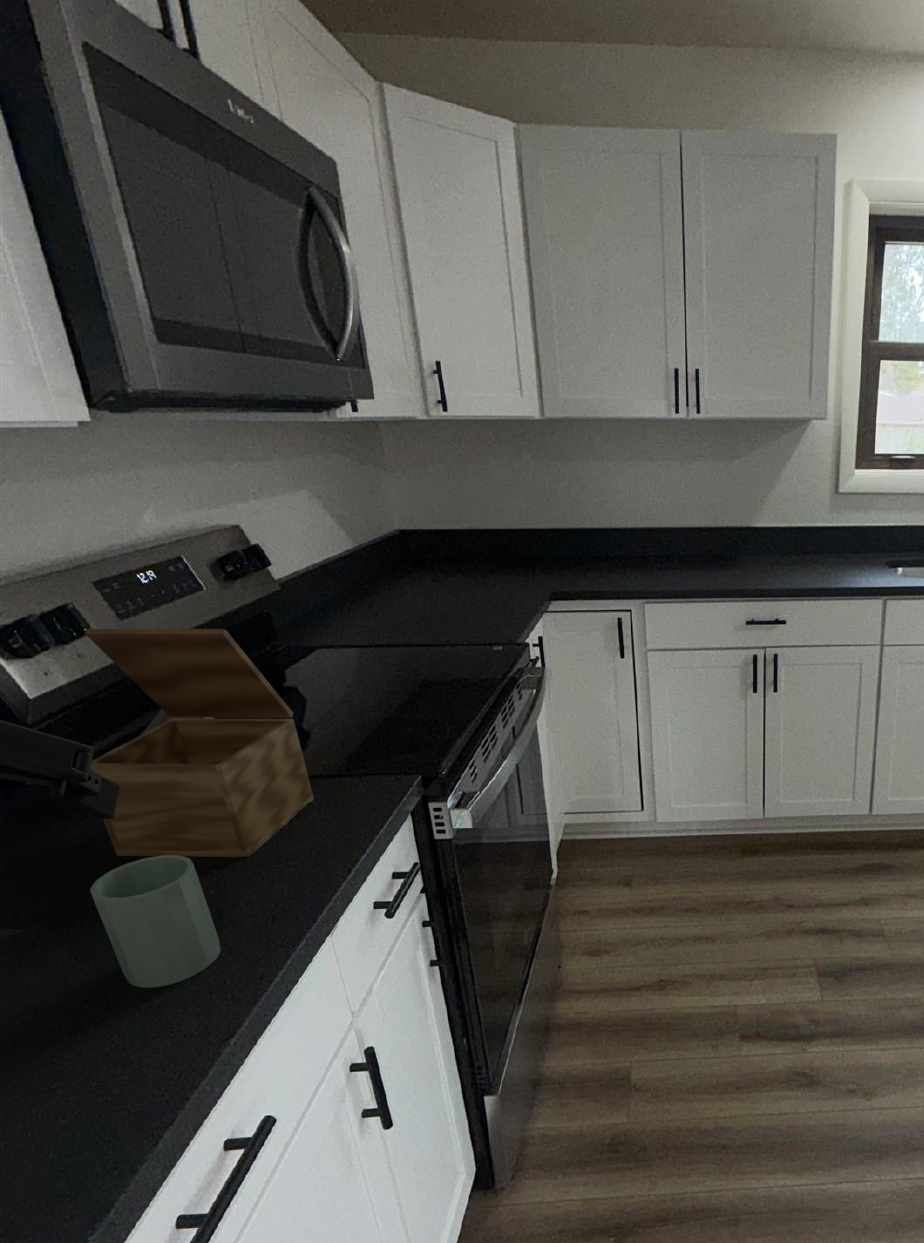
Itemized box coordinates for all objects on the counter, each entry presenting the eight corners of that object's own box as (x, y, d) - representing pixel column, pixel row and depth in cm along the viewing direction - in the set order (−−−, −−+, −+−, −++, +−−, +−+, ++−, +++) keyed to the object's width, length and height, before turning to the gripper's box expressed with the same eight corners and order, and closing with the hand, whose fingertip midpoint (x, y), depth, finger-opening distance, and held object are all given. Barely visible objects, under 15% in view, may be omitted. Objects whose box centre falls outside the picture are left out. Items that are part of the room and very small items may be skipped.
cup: (105, 987, 77) (68, 899, 73) (163, 937, 84) (132, 854, 80) (187, 988, 77) (154, 900, 73) (238, 938, 84) (211, 855, 80)
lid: (222, 634, 94) (225, 628, 94) (84, 633, 94) (87, 628, 95) (291, 718, 108) (293, 713, 108) (170, 717, 108) (173, 712, 109)
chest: (248, 857, 99) (221, 766, 94) (116, 856, 99) (82, 765, 94) (314, 800, 113) (293, 718, 108) (199, 799, 114) (172, 718, 109)
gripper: (-612, 760, 39) (-181, 865, 59) (-51, 735, 42) (181, 843, 62) (-539, 627, 42) (-150, 770, 62) (-16, 612, 45) (196, 753, 65)
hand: (16, 807), depth 62 cm, fingers open, 13 cm apart
